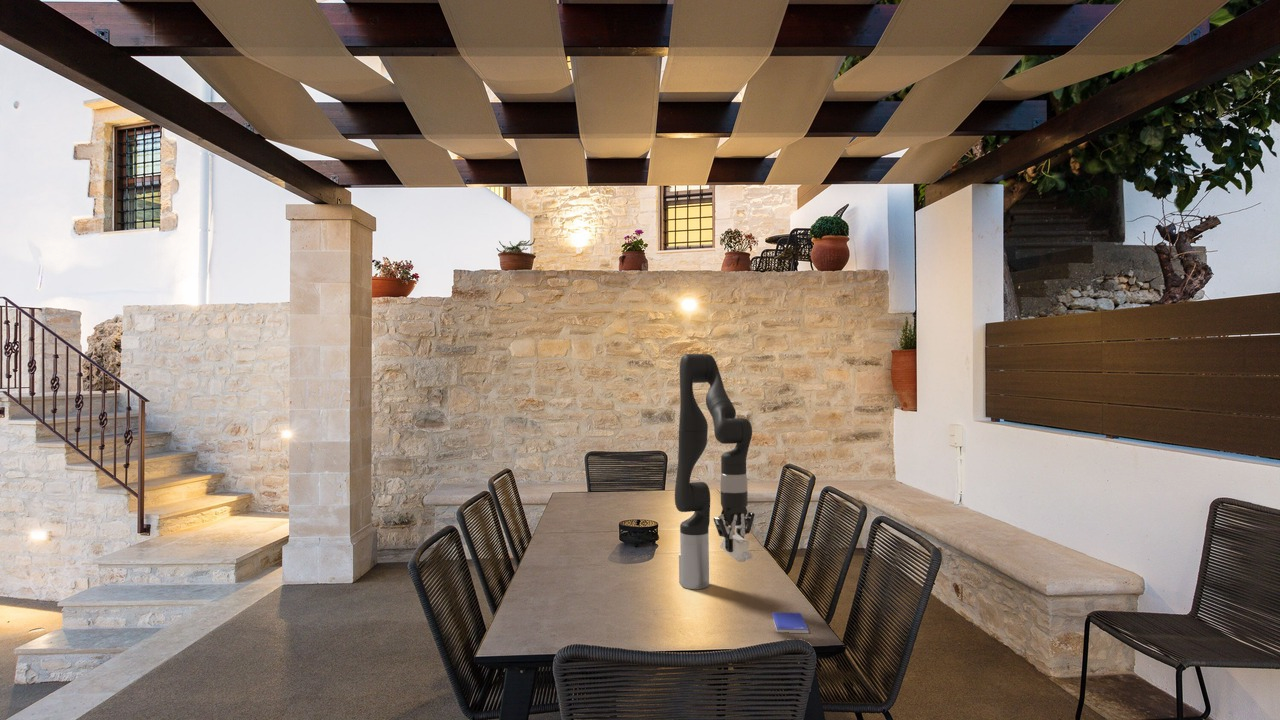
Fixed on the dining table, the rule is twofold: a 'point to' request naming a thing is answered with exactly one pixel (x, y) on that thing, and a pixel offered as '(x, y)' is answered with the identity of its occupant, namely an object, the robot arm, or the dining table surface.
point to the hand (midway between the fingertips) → (734, 550)
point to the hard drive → (790, 622)
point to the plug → (738, 548)
